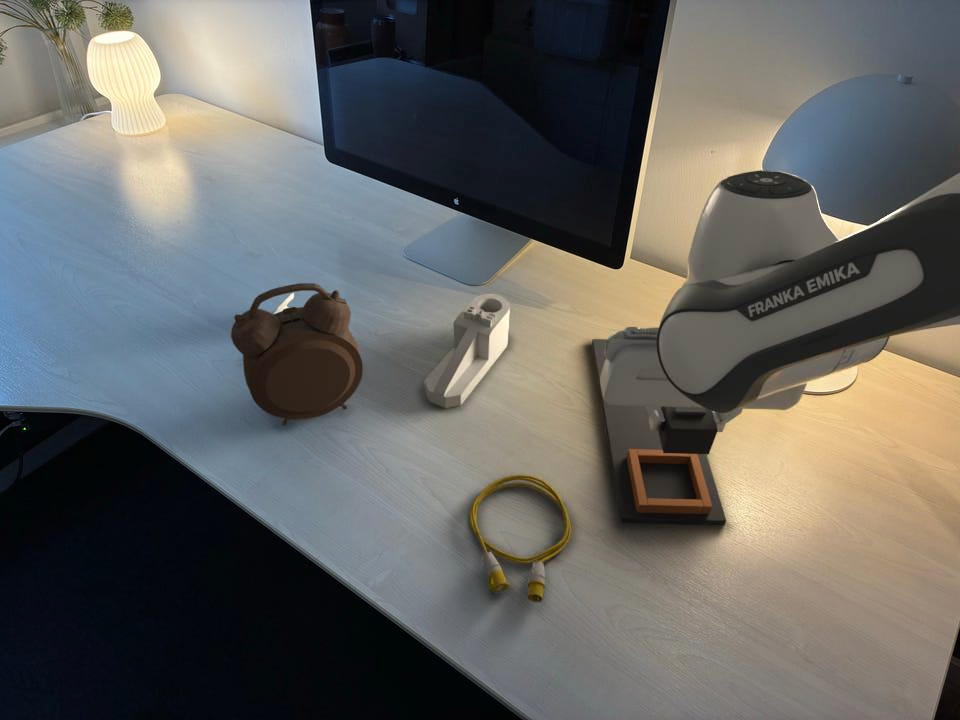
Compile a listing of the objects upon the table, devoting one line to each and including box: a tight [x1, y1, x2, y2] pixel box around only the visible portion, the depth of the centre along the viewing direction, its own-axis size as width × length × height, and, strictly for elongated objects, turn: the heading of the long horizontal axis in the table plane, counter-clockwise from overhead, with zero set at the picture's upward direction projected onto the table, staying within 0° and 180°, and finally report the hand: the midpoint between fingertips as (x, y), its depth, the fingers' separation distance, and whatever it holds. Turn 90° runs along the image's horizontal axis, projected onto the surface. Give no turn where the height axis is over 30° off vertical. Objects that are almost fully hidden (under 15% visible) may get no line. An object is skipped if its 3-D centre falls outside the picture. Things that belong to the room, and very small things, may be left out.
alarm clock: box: [230, 282, 364, 427], centre depth 85 cm, size 14×7×20 cm, turn 113°
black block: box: [658, 407, 718, 455], centre depth 75 cm, size 5×5×4 cm
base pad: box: [591, 338, 727, 527], centre depth 90 cm, size 32×12×2 cm, turn 179°
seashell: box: [272, 292, 295, 315], centre depth 102 cm, size 8×5×8 cm
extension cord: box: [468, 474, 572, 603], centre depth 77 cm, size 12×16×2 cm
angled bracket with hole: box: [424, 293, 511, 409], centre depth 96 cm, size 6×18×8 cm, turn 152°
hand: (685, 427), depth 75 cm, fingers closed on black block, 5 cm apart
